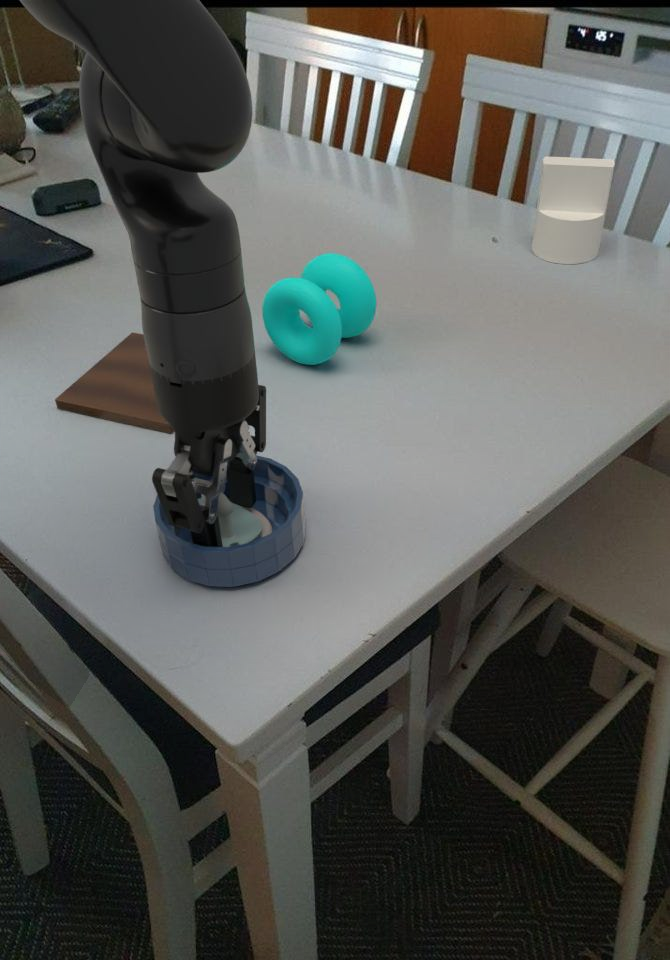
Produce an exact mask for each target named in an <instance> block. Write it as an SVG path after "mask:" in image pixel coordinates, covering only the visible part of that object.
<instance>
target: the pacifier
mask: <svg viewBox="0 0 670 960" xmlns="http://www.w3.org/2000/svg"><path fill="white" fill-rule="evenodd" d="M201 496H202V498H199V499H198V502H199V505H202V506H205V500H206V498H205V496H204V495H203V494H201ZM217 516H218V519H219V525H220V532H221V538H222V545H223V547H231V546H236V545H241V544H246V543H251V542H253V541H255V540H258V539H260V538H262V537H264V536H266V535H269V534H271V533H272V527H271V524H270V522H269V521H268V519H267V518H266V517H265V516H264V515H263V514H262V513H260V512H259V511H257V510H255V509H253V508H247V507H243V506H239V505H236V504H234V503H232V502H230V501H229V500H228V498H227V497H226V496H225V495H224V494H223V493H221V494H219V496H218V508H217ZM190 531H191V530H190Z"/></svg>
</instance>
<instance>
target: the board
mask: <svg viewBox="0 0 670 960" xmlns="http://www.w3.org/2000/svg"><path fill="white" fill-rule="evenodd" d="M54 401H55V405H56V409H58V410H62V411H68V412H71V413H76V414H79V415H85V416H90V417H94V418H99V419H103V420H108V421H113V422H115V423H116V422H117V423H121V424H126V425H130V426H134V427H138V428H144V429H148V430H152V431H157V432H161V433H162V432H163V433H166V434H171V435H172V434H173V433H175V432H174V430H173V428H172V427H171V426H170V425H169V423H168V422H167V421H166V420H165V419H164V418H163V417H162V416H161V414H160V412H159V410H158V407H157V402H156V397H155V392H154V386H153V381H152V376H151V371H150V366H149V360H148V355H147V350H146V345H145V340H144V335H143V333H138V332H131V333H129V334H128V335H127V336H126V337H125V338H123V340H122V341H120V342H119V343H118V344H117V345H115V347H113V348H112V349H111V350H110V351H109V352H108V353H107V354H105V355H104V356H103V357H102V358H101V359H100V360H98V361H97V362H95V364H94V365H92V366H91V367H90V368H89V369H88V370H87V371H86V372H85V373H83V374H82V375H81V376H80V377H78V378H77V379H76V381H74V382H73V383H72V384H71V385H69V386H68V387H67V388H66V389H65V390H63V392H62V393H60V394H59V395H58V396H57V397H56V398H55V399H54Z"/></svg>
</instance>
